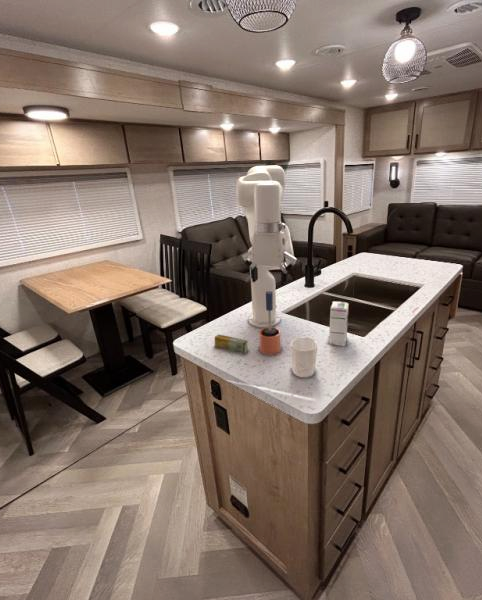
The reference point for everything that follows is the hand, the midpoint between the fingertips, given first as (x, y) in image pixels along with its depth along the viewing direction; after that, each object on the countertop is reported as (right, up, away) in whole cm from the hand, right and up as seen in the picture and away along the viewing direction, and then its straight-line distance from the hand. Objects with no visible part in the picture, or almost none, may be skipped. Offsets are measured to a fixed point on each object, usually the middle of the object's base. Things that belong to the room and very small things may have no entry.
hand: (269, 282), depth 101 cm
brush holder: (0, -23, +10) cm, 25 cm away
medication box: (-13, -23, +11) cm, 29 cm away
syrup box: (+24, -21, +15) cm, 35 cm away
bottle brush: (0, -22, +10) cm, 25 cm away
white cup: (+11, -28, -2) cm, 30 cm away
